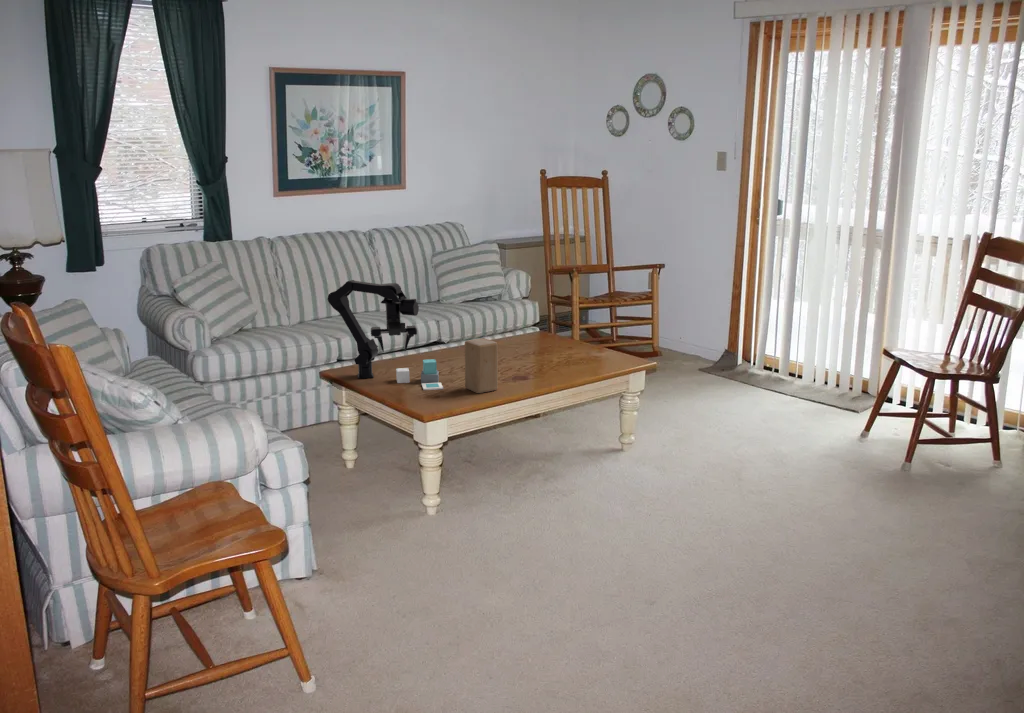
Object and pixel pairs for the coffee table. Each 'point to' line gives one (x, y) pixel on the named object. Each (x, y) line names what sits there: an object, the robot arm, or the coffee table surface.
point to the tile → (432, 386)
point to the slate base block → (429, 377)
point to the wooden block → (481, 365)
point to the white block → (402, 375)
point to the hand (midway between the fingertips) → (394, 351)
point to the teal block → (429, 366)
